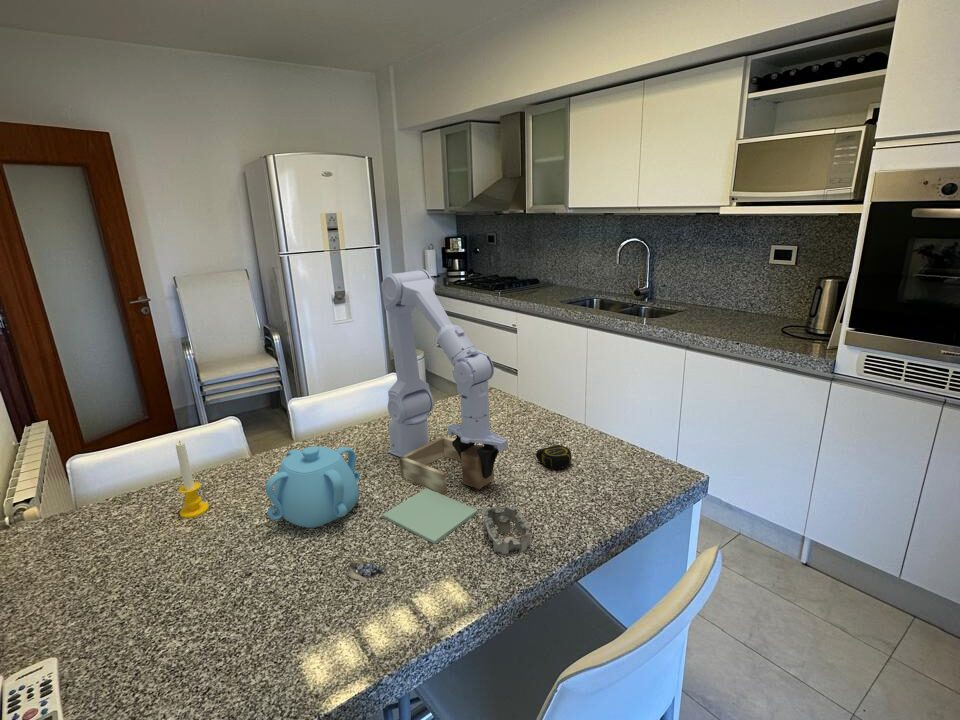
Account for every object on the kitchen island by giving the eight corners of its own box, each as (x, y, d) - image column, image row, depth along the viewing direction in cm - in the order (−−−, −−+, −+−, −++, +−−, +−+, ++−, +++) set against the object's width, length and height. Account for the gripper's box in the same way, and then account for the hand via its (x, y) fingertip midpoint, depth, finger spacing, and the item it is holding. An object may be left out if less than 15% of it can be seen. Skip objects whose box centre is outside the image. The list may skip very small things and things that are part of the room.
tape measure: (560, 455, 120) (560, 441, 119) (577, 468, 114) (577, 452, 113) (535, 462, 117) (535, 447, 116) (550, 475, 111) (550, 459, 110)
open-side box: (401, 476, 113) (399, 458, 112) (444, 452, 123) (442, 435, 122) (443, 494, 105) (442, 474, 104) (485, 467, 115) (485, 449, 114)
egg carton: (534, 551, 87) (534, 531, 86) (492, 558, 86) (491, 537, 84) (519, 517, 97) (518, 498, 95) (481, 522, 95) (480, 504, 94)
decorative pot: (259, 535, 94) (247, 469, 90) (296, 489, 109) (287, 431, 106) (345, 537, 92) (336, 470, 89) (370, 490, 108) (364, 431, 104)
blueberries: (353, 558, 87) (352, 548, 87) (400, 557, 87) (399, 548, 86) (341, 585, 81) (340, 575, 80) (391, 585, 80) (390, 575, 80)
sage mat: (382, 517, 98) (382, 514, 98) (426, 490, 107) (426, 488, 107) (434, 544, 89) (434, 541, 89) (477, 512, 98) (477, 509, 98)
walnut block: (462, 482, 107) (460, 452, 105) (477, 473, 111) (476, 444, 109) (479, 489, 104) (477, 458, 103) (494, 479, 108) (492, 449, 106)
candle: (213, 510, 103) (198, 439, 99) (185, 521, 99) (168, 448, 95) (203, 501, 106) (188, 432, 102) (176, 512, 103) (159, 441, 98)
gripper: (435, 411, 105) (439, 470, 109) (491, 427, 96) (493, 491, 100) (458, 401, 110) (461, 458, 114) (513, 415, 101) (514, 476, 105)
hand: (478, 473), depth 107 cm, fingers closed on walnut block, 4 cm apart
